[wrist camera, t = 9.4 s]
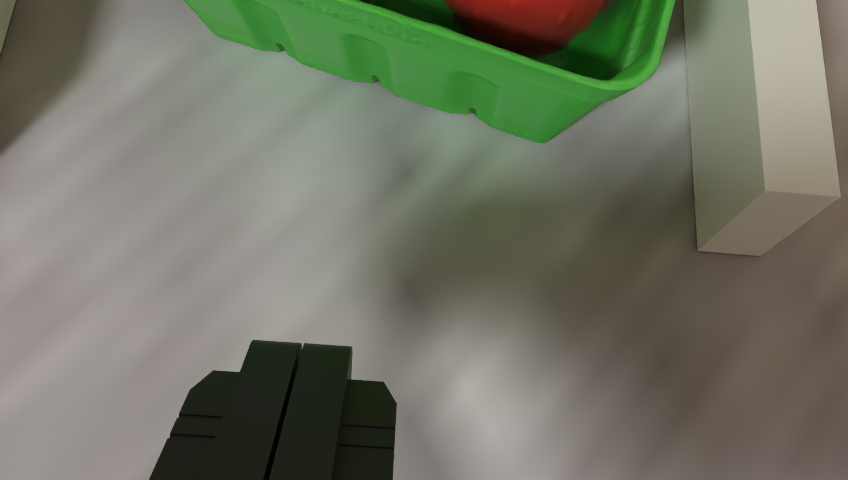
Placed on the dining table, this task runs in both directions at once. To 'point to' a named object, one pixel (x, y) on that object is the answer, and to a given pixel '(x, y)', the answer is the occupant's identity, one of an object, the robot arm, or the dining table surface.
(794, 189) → the corral
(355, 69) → the fruit basket
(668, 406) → the dining table surface
